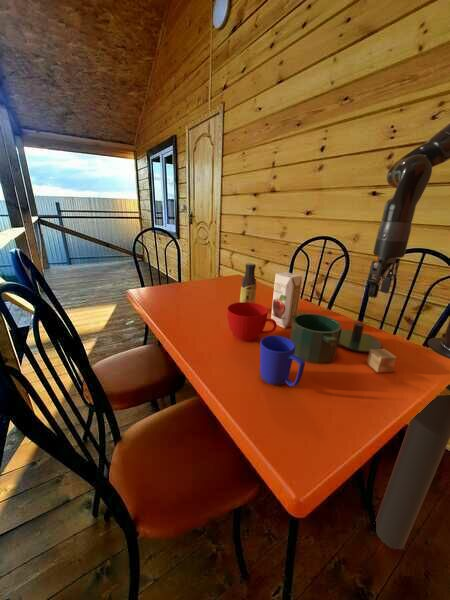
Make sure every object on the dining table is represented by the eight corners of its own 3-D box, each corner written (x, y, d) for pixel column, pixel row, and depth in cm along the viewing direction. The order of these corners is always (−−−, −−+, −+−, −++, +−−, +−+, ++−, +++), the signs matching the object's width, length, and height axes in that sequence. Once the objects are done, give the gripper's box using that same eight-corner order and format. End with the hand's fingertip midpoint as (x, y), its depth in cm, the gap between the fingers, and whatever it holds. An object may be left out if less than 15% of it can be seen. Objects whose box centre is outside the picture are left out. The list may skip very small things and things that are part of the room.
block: (381, 362, 72) (384, 348, 71) (392, 371, 68) (397, 357, 67) (366, 363, 72) (369, 349, 70) (377, 372, 68) (381, 358, 66)
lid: (361, 331, 91) (365, 314, 89) (391, 353, 77) (397, 333, 75) (323, 333, 89) (326, 315, 87) (347, 355, 76) (351, 335, 73)
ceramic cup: (263, 355, 74) (266, 324, 71) (218, 337, 83) (219, 309, 80) (282, 339, 84) (286, 311, 80) (240, 325, 93) (241, 299, 90)
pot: (318, 335, 87) (322, 309, 84) (350, 367, 69) (357, 336, 66) (279, 336, 85) (282, 310, 82) (303, 370, 68) (308, 338, 65)
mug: (285, 403, 55) (291, 364, 52) (250, 375, 65) (253, 340, 62) (310, 390, 60) (316, 353, 57) (274, 365, 69) (278, 332, 66)
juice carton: (281, 317, 101) (286, 270, 95) (298, 325, 95) (305, 275, 88) (267, 321, 97) (272, 273, 91) (285, 330, 90) (291, 278, 84)
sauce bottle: (245, 314, 103) (248, 266, 97) (236, 309, 108) (238, 263, 101) (257, 311, 107) (261, 264, 100) (247, 306, 112) (250, 261, 105)
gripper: (397, 241, 63) (382, 302, 68) (416, 239, 71) (401, 293, 77) (366, 238, 68) (354, 295, 74) (387, 236, 77) (375, 287, 82)
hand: (378, 294), depth 75 cm, fingers open, 8 cm apart
